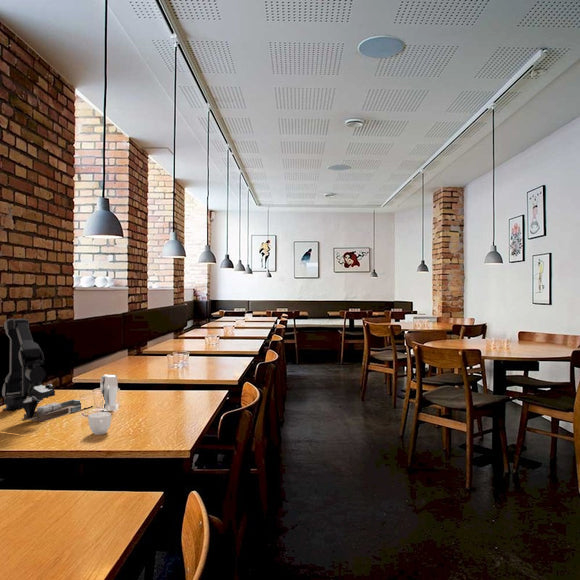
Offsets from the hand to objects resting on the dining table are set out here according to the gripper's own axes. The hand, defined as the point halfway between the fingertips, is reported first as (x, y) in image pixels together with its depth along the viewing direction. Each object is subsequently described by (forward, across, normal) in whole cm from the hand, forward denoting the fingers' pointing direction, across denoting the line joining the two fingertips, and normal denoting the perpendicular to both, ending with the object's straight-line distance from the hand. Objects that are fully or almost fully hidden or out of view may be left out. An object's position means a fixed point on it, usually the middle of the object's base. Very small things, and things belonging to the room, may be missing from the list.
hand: (30, 417), depth 188 cm
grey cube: (+1, +6, 0) cm, 7 cm away
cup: (+2, -2, -37) cm, 37 cm away
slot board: (+2, +14, 0) cm, 14 cm away
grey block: (+1, +11, 0) cm, 11 cm away
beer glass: (+2, +26, -16) cm, 30 cm away
